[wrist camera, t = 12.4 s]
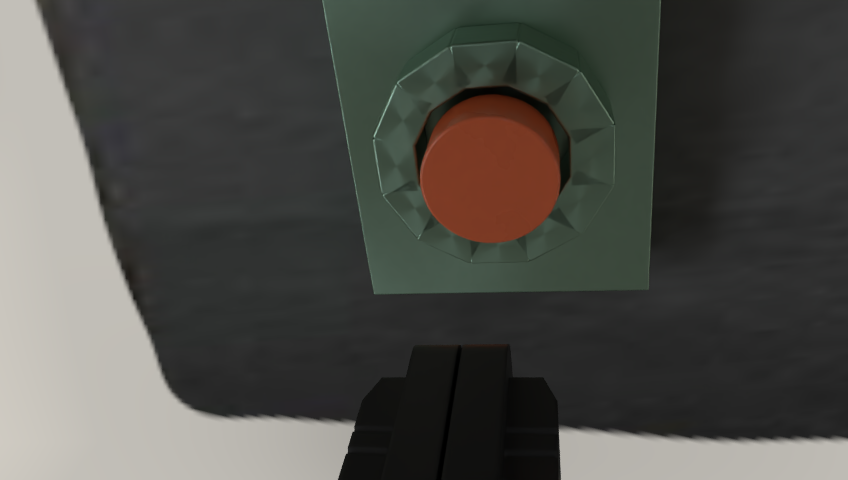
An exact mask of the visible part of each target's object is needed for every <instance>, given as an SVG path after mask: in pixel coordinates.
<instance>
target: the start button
mask: <svg viewBox="0 0 848 480" xmlns="http://www.w3.org/2000/svg"><path fill="white" fill-rule="evenodd" d="M560 182H561V176H560V156H559V145H558V141H557V138H556V135H555V133H554V130H553V129H552V127H551V125H550V123H549V122H548V121H547V120H546V118H545V117H544V116H543V115H542V114H541V113H540V112H539V111H538V110H537V109H535V108H534V107H533V106H531V105H529V104H528V103H526V102H524V101H522V100H519V99H517V98H514V97H510V96H506V95H499V94H487V95H479V96H475V97H471V98H469V99H466V100H464V101H462V102H460V103H458V104H456V105H455V106H453V107H452V108H451V109H449V110H448V111H447V112H446V113H445V114H444V115H443V116H442V117H441V119H440V120H439V121H438V122H437V124H436V126H435V128H434V129H433V132H432V134H431V137H430V140H429V143H428V146H427V149H426V151H425V154H424V157H423V160H422V164H421V169H420V186H421V191H422V195H423V198H424V201H425V203H426V205H427V207H428V209H429V210H430V211H431V213H432V214H433V216H434V217H435V218H436V219H437V220H438V221H439V222H440V223H441V224H442V225H443V226H444V227H445V228H447V229H448V230H450V231H451V232H453V233H455V234H456V235H458V236H460V237H463V238H466V239H468V240H472V241H476V242H483V243H500V242H506V241H511V240H514V239H517V238H520V237H522V236H524V235H526V234H528V233H530V232H531V231H533V230H534V229H536V228H537V227H538V226H539V225H541V224H542V223H543V222H544V220H545V219H546V218H547V217H548V216H549V214H550V213H551V212H552V210H553V208H554V206H555V204H556V202H557V199H558V196H559V191H560Z"/></svg>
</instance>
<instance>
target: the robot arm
mask: <svg viewBox="0 0 848 480" xmlns="http://www.w3.org/2000/svg"><path fill="white" fill-rule="evenodd" d="M354 427H355V431H354V432H353V433H352V436H351V439H350V443H349V446H348V454H346V456H345V459H344V462H343V465H342V469H341V472H340V475H339V478H338V480H561V473H560V472H561V471H560V450H559V426H558V404H557V400H556V398H555V397H554V395H553V393H552V392H551V390H550V388H549V387H548V385H547V383H546V381H545V380H544V378H513V374H512V362H511V351H510V346H509V344H493V345H463V347H461V345H415V346H414V348H413V351H412V354H411V358H410V362H409V366H408V371H407V375H406V378H381V380H380V381H379V382H378V383H377V384H376V385H375V386H374V388H373V389H372V390H371V391H370V392H369V393H368V395H367V396H366V397H365V398H364V399H363V400H362V403H361V407H360V410H359V413H358V416H357V420H356V423H355V426H354Z"/></svg>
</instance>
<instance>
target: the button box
mask: <svg viewBox="0 0 848 480" xmlns="http://www.w3.org/2000/svg"><path fill="white" fill-rule="evenodd" d="M322 3H323V9H324V14H325V20H326V26H327V31H328V37H329V43H330V48H331V54H332V60H333V66H334V71H335V77H336V83H337V88H338V94H339V100H340V105H341V111H342V117H343V122H344V128H345V134H346V139H347V145H348V151H349V157H350V162H351V168H352V174H353V179H354V185H355V191H356V196H357V202H358V208H359V213H360V219H361V225H362V230H363V236H364V242H365V248H366V253H367V259H368V265H369V270H370V276H371V282H372V287H373V293H374V294H435V293H496V292H556V291H617V290H648V289H649V271H650V248H651V225H652V202H653V179H654V156H655V133H656V110H657V87H658V64H659V41H660V17H661V0H322ZM487 94H499V95H506V96H510V97H514V98H517V99H519V100H522V101H524V102H526V103H528V104H529V105H531V106H533V107H534V108H535V109H537V110H538V111H539V112H540V113H541V114H542V115H543V116H544V117H545V118H546V120H547V121H548V122H549V123H550V125H551V127H552V129H553V130H554V133H555V135H556V138H557V141H558V145H559V156H560V176H561V182H560V191H559V196H558V199H557V202H556V204H555V206H554V208H553V210H552V212H551V213H550V214H549V216H548V217H547V218H546V219H545V220H544V222H543V223H542V224H541V225H539V226H538V227H537V228H536V229H534V230H533V231H531V232H530V233H528V234H526V235H524V236H522V237H520V238H517V239H514V240H511V241H506V242H500V243H483V242H476V241H472V240H468V239H466V238H463V237H460V236H458V235H456V234H455V233H453V232H451V231H450V230H448V229H447V228H445V227H444V226H443V225H442V224H441V223H440V222H439V221H438V220H437V219H436V218H435V217H434V216H433V214H432V213H431V211H430V210H429V209H428V207H427V205H426V203H425V201H424V198H423V195H422V191H421V186H420V169H421V164H422V160H423V157H424V154H425V151H426V149H427V146H428V143H429V140H430V137H431V134H432V132H433V129H434V128H435V126H436V124H437V122H438V121H439V120H440V119H441V117H442V116H443V115H444V114H445V113H446V112H447V111H448V110H449V109H451V108H452V107H453V106H455V105H456V104H458V103H460V102H462V101H464V100H466V99H469V98H471V97H475V96H479V95H487Z"/></svg>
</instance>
